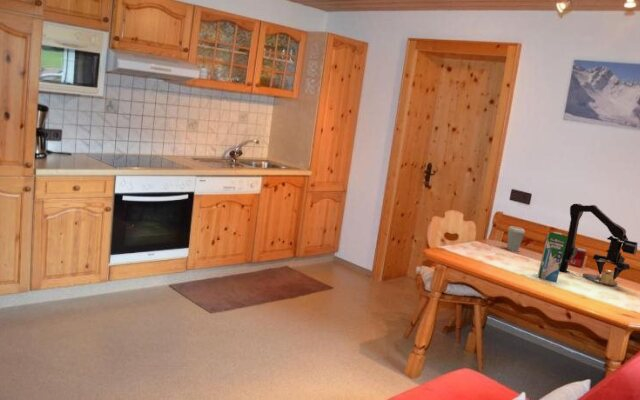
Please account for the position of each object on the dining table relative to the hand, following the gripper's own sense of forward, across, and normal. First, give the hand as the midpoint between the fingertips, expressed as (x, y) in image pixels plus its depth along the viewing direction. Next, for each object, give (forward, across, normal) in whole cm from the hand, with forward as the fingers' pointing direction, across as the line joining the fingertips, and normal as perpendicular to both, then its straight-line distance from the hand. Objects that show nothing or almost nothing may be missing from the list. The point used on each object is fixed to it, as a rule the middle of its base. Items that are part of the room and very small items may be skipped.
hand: (607, 276), depth 315 cm
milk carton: (+5, +7, +38) cm, 39 cm away
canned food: (+5, +35, -20) cm, 41 cm away
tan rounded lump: (+3, 0, 0) cm, 3 cm away
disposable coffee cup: (+5, +64, +5) cm, 65 cm away
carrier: (+4, +6, -4) cm, 8 cm away
